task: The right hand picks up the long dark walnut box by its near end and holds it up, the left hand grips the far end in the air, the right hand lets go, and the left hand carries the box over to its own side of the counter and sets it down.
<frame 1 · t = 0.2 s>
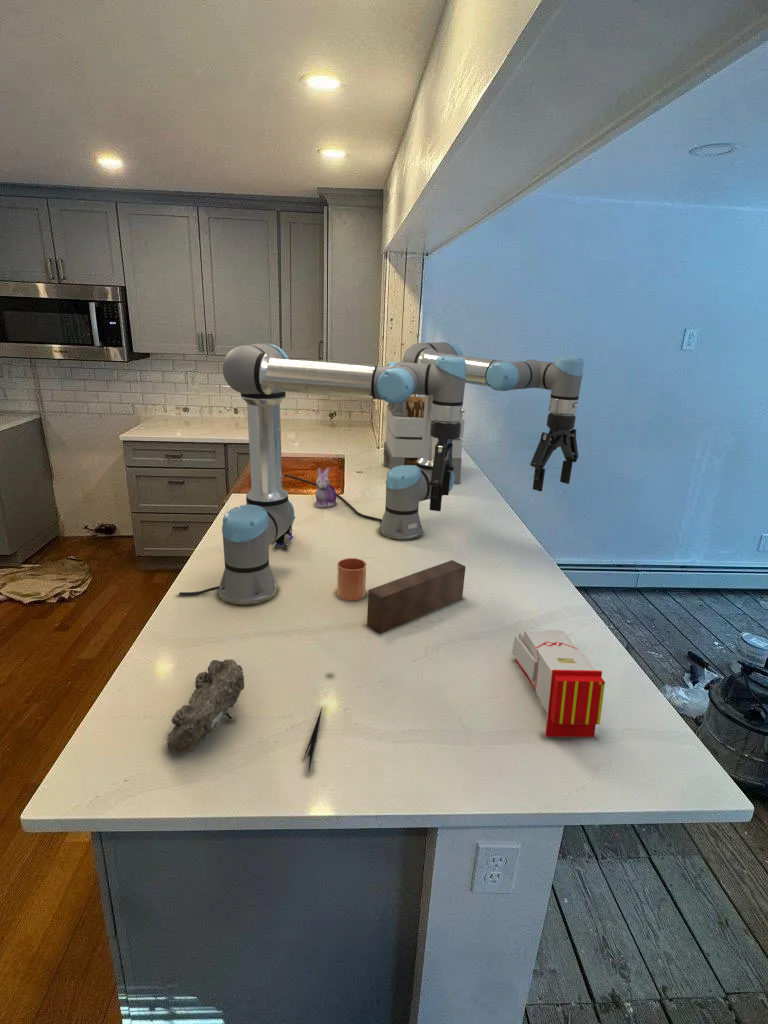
left hand: (439, 502, 148), 28 cm above the counter, fingers open, 13 cm apart
right hand: (551, 486, 165), 28 cm above the counter, fingers open, 13 cm apart
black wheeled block: (282, 543, 188), on the counter
terracotta cup: (351, 593, 157), on the counter
walnut box: (417, 611, 149), on the counter
feather: (319, 719, 109), on the counter
figurine: (325, 504, 226), on the counter
toy: (547, 692, 120), on the counter
fossil: (212, 717, 108), on the counter
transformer: (419, 473, 275), on the counter
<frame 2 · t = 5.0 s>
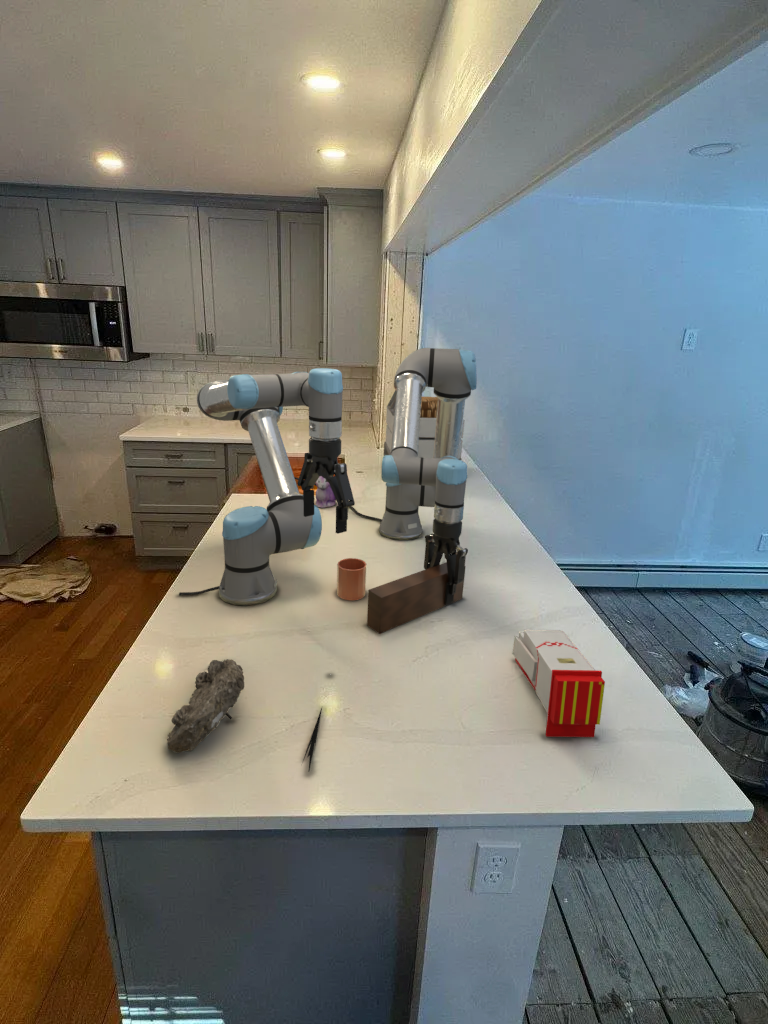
left hand: (324, 523, 138), 25 cm above the counter, fingers open, 13 cm apart
right hand: (441, 599, 155), 1 cm above the counter, fingers closed on walnut box, 5 cm apart
walnut box: (417, 611, 149), on the counter, touching right hand
everything else where it was.
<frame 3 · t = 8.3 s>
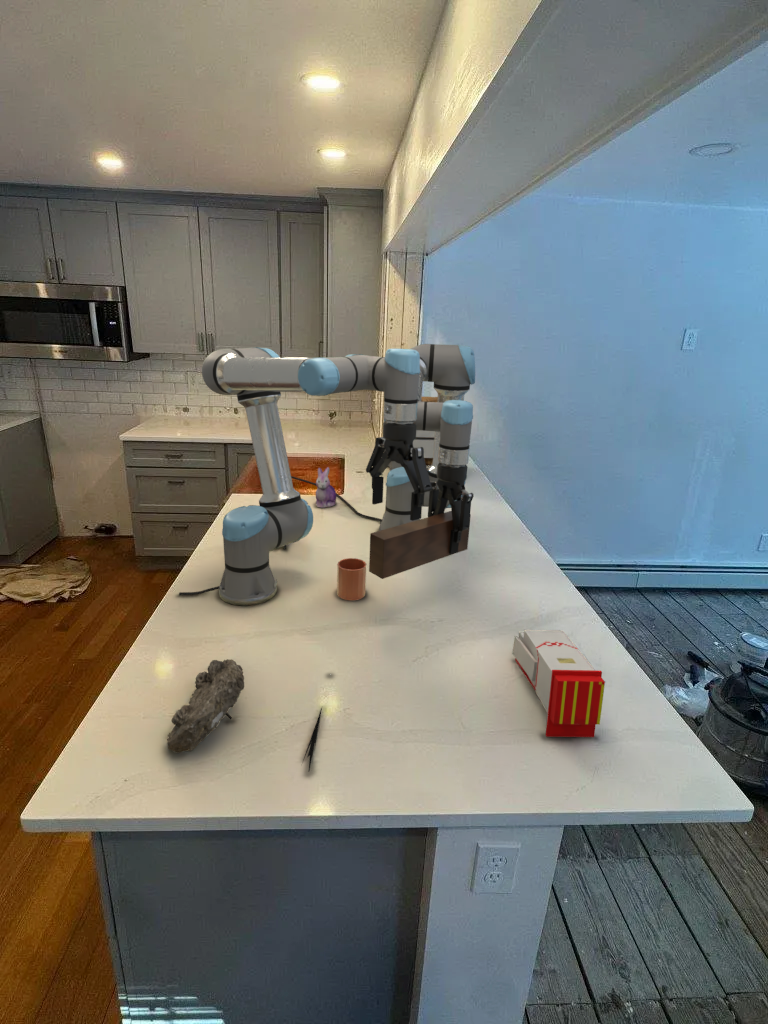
left hand: (395, 511, 133), 30 cm above the counter, fingers open, 13 cm apart
right hand: (445, 548, 150), 16 cm above the counter, fingers closed on walnut box, 5 cm apart
walnut box: (420, 559, 144), point 15 cm above the counter, touching right hand
everything else where it was.
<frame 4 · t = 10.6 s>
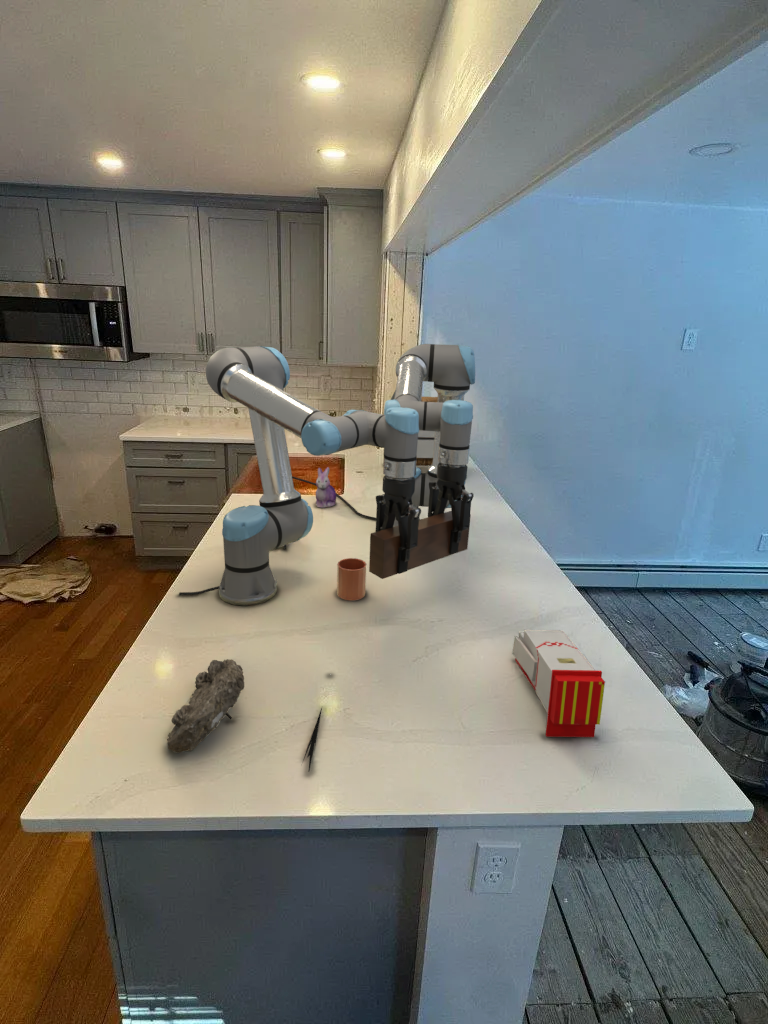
left hand: (394, 567, 138), 15 cm above the counter, fingers closed on walnut box, 5 cm apart
right hand: (445, 548, 150), 16 cm above the counter, fingers closed on walnut box, 5 cm apart
walnut box: (420, 559, 144), point 15 cm above the counter, touching right hand, left hand
everything else where it was.
when the right hand's fingers open (16 cm above the counter, at t = 11.5 s): walnut box stays where it is, held by the left hand.
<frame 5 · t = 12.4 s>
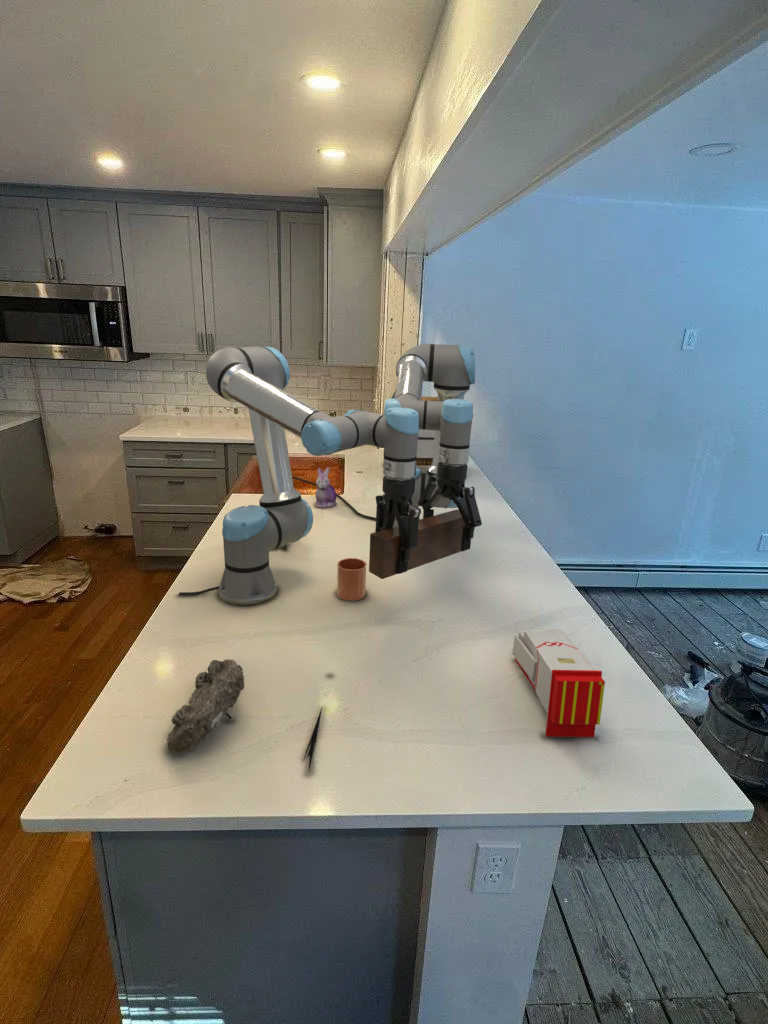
left hand: (394, 567, 138), 15 cm above the counter, fingers closed on walnut box, 5 cm apart
right hand: (446, 541, 149), 18 cm above the counter, fingers open, 13 cm apart
walnut box: (420, 560, 144), point 15 cm above the counter, touching left hand
everything else where it was.
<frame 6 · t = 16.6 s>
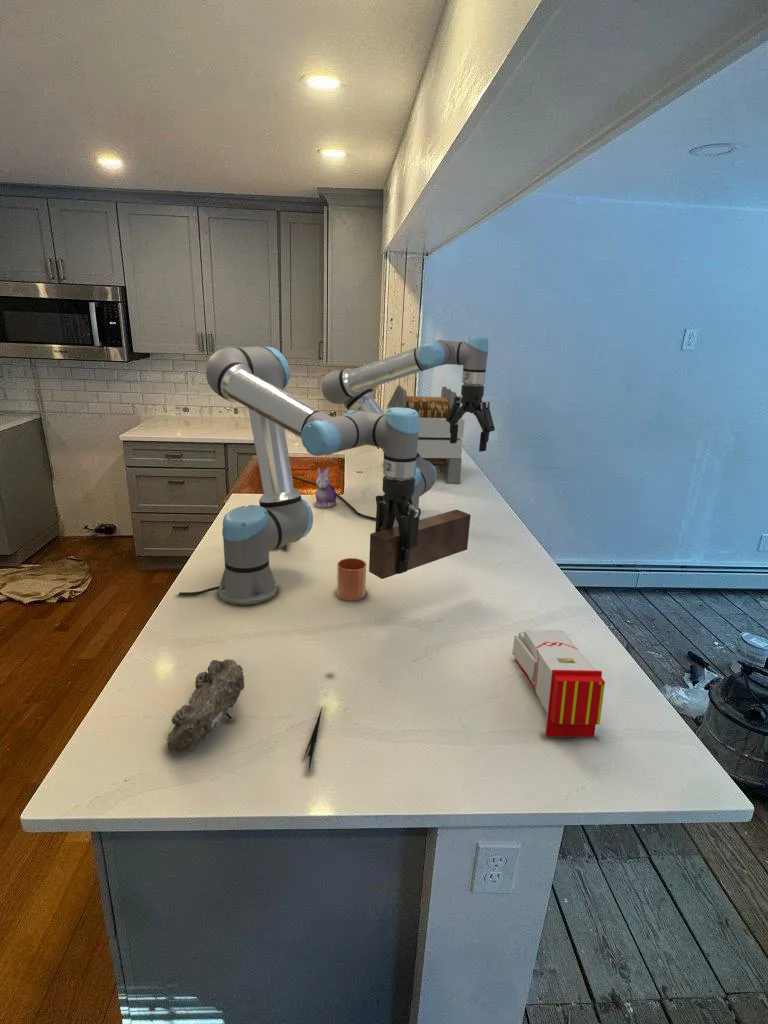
left hand: (394, 567, 138), 15 cm above the counter, fingers closed on walnut box, 5 cm apart
right hand: (467, 447, 196), 31 cm above the counter, fingers open, 13 cm apart
walnut box: (420, 560, 144), point 15 cm above the counter, touching left hand
everything else where it was.
when the left hand's fingers open (3 cm above the counter, at t = 22.7 s): walnut box drops 2 cm, on the counter.
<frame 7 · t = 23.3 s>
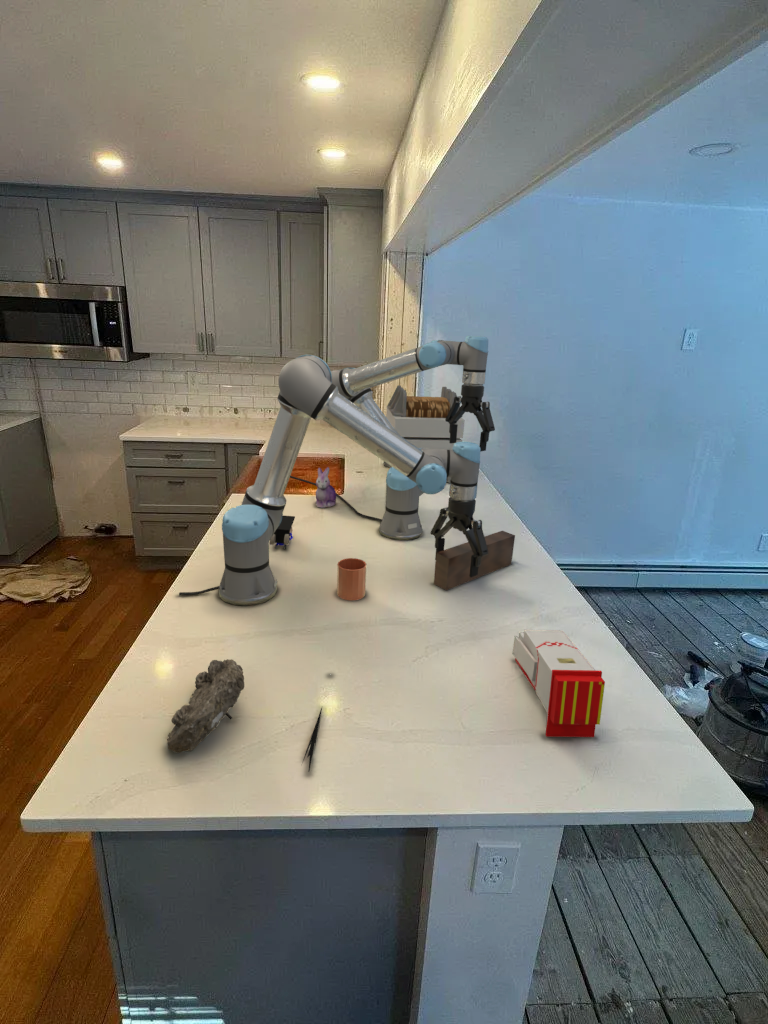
left hand: (455, 567, 165), 5 cm above the counter, fingers open, 13 cm apart
right hand: (467, 446, 196), 31 cm above the counter, fingers open, 13 cm apart
walnut box: (474, 573, 172), on the counter
everything else where it was.
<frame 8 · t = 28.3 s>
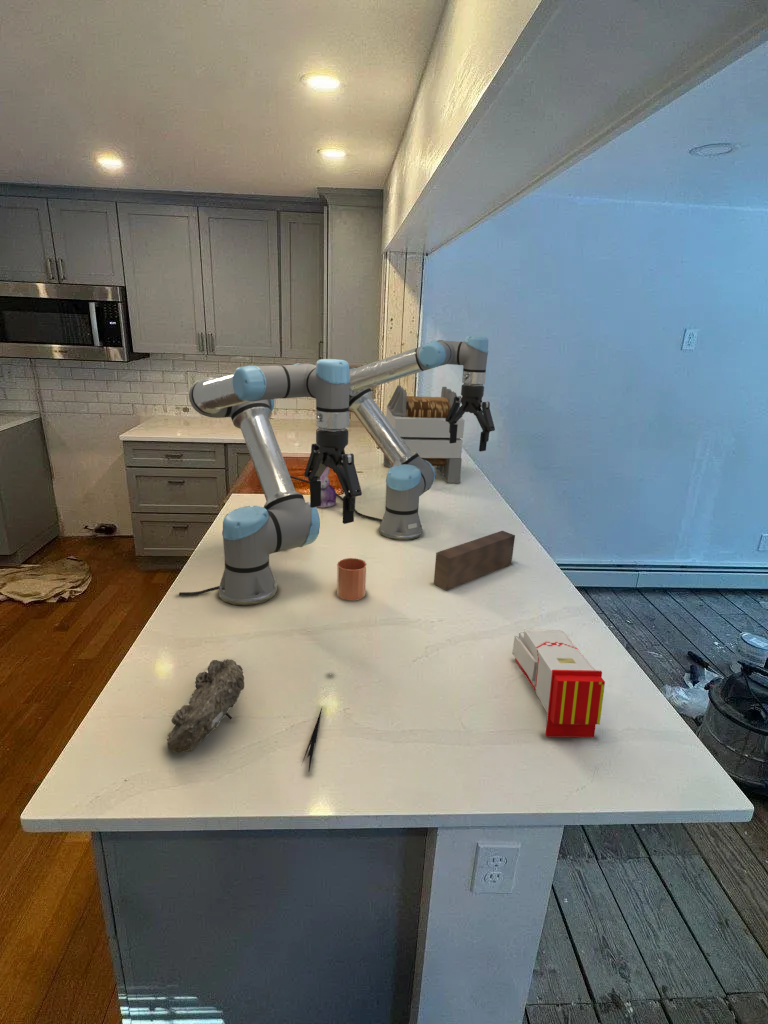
left hand: (331, 514, 139), 27 cm above the counter, fingers open, 13 cm apart
right hand: (467, 446, 196), 31 cm above the counter, fingers open, 13 cm apart
nothing on the counter moved.
at the end: walnut box inside the target area (0.1 cm from its centre), on the counter; both hands held the walnut box at the same time; the left hand is holding nothing; the right hand is holding nothing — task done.
